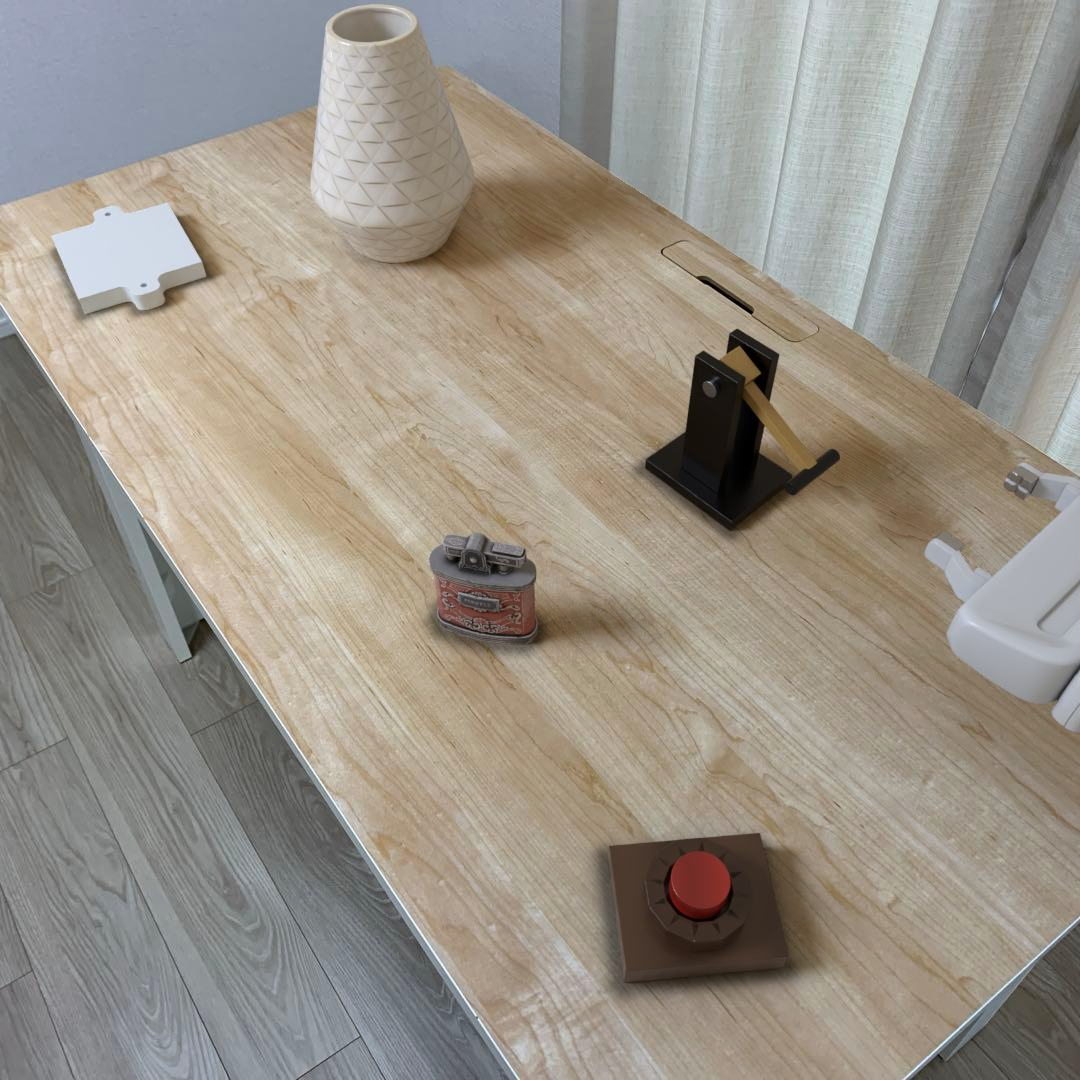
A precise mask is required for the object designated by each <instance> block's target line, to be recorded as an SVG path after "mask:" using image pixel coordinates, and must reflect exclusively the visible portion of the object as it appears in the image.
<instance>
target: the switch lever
mask: <svg viewBox="0 0 1080 1080" xmlns="http://www.w3.org/2000/svg"><path fill="white" fill-rule="evenodd" d="M718 360H719V361H721V362H723V363H724V364H726V365H727V366H729V367H730V368H732V369H734V370H735V371H737V372H738V373H740V374H741V375H743V376H744V377H746V380H745V385H744V391H743V396H742V397H743V399H744V400H745V401H746V403H747V404H748V405H749V406H750V408H751V409H752V410H753V411H754V413H755V414H756V415H757V417H758V418H759V419H760V420H761V422H762V423H763V424H764V425H765V427H764V428H766V429H767V430H768V432H769V434H770V435H771V436H772V437H773V439H775V441H776V442H777V444H778V445H779V446H780V447H781V448H782V450H783V452H784V453H785V454H786V455H787V456H788V458H789V459H790V460H791V462H793V464H794V465H795V467H796V468H797V469H798V470H799V471H798V473H797V474H795V475H793V476H792V478H791V479H790V480H789V481H787V482H786V483H785V485H784V488H785V489H784V491H785V492H786V494H788V495H790V496H793V497H794V496H797V494H799V493H800V492H801V491H802V490H804V489H805V488H807V487H808V486H809V485H811V483H813V482H814V481H815V480H817V479H818V478H819V477H820V476H822V475H823V474H825V473H826V472H828V470H830V469H831V468H833V466H834V465H836V464H837V463H838V462H840V460H841V454H840V452H839V451H838V450H837V449H835V448H829V449H828V450H826V451H825V452H824V453H822V454H821V455H820V456H819V457H817V458H816V459H815V458H814V457H813V455H812V454H811V452H810V451H809V450H808V449H807V448H806V446H805V445H804V444H803V443H802V442H801V440H800V438H799V437H797V435H796V434H795V433H794V431H793V430H792V429H791V427H790V426H789V425H788V423H787V422H786V421H785V420H784V419H783V417H782V416H781V414H780V413H779V412H778V411H777V409H776V408H775V407H774V406H773V405H772V403H771V401H770V402H769V401H768V399H767V398H766V397H765V396H764V394H763V393H762V392H761V391H760V389H759V388H758V387H757V385H756V384H755V383H754V382H753V381H754V380H755V379H756V378H757V377H758V376H759V375H760V374H761V372H760V371H759V370H758V368H757V367H756V366H755V365H754V363H753V362H752V361H751V359H750V358H749V357H748V356H747V354H746V353H745V352H744V351H743V349H742V348H741V347H740V346H738V347H737V348H735V349H734V350H732V351H731V352H729V353H728V354H726V353H725V355H723V356H722V357H720V359H718Z"/></svg>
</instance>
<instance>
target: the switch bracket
mask: <svg viewBox="0 0 1080 1080" xmlns="http://www.w3.org/2000/svg"><path fill="white" fill-rule="evenodd" d="M738 346H740V347H741V348H742V349H743V351H744V352H745V353H746V354H747V356H748V357H749V358H750V359H751V361H752V362H753V363H754V365H755V366H756V367H757V368H758V370H759V371H760V372H761V374H760V375H759V376H758V377H757V378H756V379H755V380H754V381H753V382H754V383H755V384H756V385H757V387H758V388H759V389H760V391H761V392H762V393H763V394H764V396H765V397H766V398H767V399H768V401H769V402H770V403H771V397H772V393H773V387H774V384H775V378H776V373H777V369H778V364H779V358H780V353H779V352H777V351H775V350H774V349H772V348H770V347H768V346H767V345H766V344H764V343H762V342H761V341H759V340H757V338H754V337H752V336H751V335H749V334H748V333H746V332H744V331H742V330H741V329H739V328H735V329H734V330H732V331H730V332H729V333H728V340H727V345H726V351H725V355H726V354H728V353H729V352H731V351H732V350H734V349H735V348H737V347H738ZM719 360H720V359H718V358H716V357H715V356H714V355H712V354H710V353H709V352H707V351H705V350H702V351H700V352H699V353H697V354H696V355H695V356H694V361H693V370H692V378H691V379H692V380H691V385H690V393H689V400H688V409H687V416H686V423H685V431H684V432H683V433H681V434H680V435H679V436H676V437H675V438H674V439H673V440H671V441H669V442H668V443H666V444H665V445H664V446H662V447H661V448H660V449H658V450H657V451H655V452H653V453H652V454H651V455H650V456H648V457H647V458H646V459H645V464H644V469H645V470H647V472H649V473H650V474H652V475H654V476H655V477H656V478H657V479H659V480H660V481H661V482H662V483H664V484H666V485H667V486H668V487H669V488H671V489H673V490H674V491H675V492H676V493H678V494H679V495H681V497H683V498H684V499H685V500H687V501H688V502H690V503H691V504H693V506H695V507H696V508H698V509H699V510H701V511H702V512H703V513H704V514H706V515H707V516H708V517H710V518H711V519H713V520H714V521H716V522H717V524H719V525H720V526H722V527H724V528H725V529H726V530H728V531H729V532H730V531H732V530H733V529H734V528H735V527H737V526H738V525H740V524H741V523H742V522H743V521H745V520H746V519H747V518H749V517H750V516H751V515H752V514H754V513H755V512H756V511H757V510H759V509H760V508H761V507H762V506H764V505H765V504H767V503H768V502H769V501H771V500H772V499H773V498H774V497H776V496H777V495H778V494H780V493H781V492H782V491H784V490H785V488H784V485H785V483H786V482H787V481H789V480H790V479H791V478H793V474H792V473H791V472H789V471H787V470H786V469H785V468H783V467H782V466H780V465H779V464H777V463H776V462H774V461H773V460H771V459H770V458H768V457H767V456H766V455H764V454H763V453H761V452H760V451H761V446H762V442H763V441H762V440H763V436H764V431H765V428H766V427H765V425H764V424H763V423H762V422H761V420H760V419H759V418H758V417H757V415H756V414H755V413H754V411H753V410H752V409H751V408H750V406H749V405H748V404H747V403H746V401H745V400H744V399H743V397H742V396H743V391H744V385H745V380H746V377H744V376H743V375H741V374H740V373H738V372H737V371H735V370H734V369H732V368H730V367H729V366H727V365H726V364H724V363H723V362H721V361H719Z"/></svg>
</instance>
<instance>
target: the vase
mask: <svg viewBox="0 0 1080 1080" xmlns="http://www.w3.org/2000/svg"><path fill="white" fill-rule="evenodd" d="M324 29H325V30H324V39H323V50H322V61H321V70H320V80H319V92H318V99H317V100H318V102H317V103H318V104H317V111H316V121H315V131H314V132H315V133H314V141H313V152H312V163H311V172H310V183H309V186H310V187H309V188H310V194H311V197H312V200H313V202H314V203H315V206H316V207H317V209H318V210H319V211H320V212H321V213H322V214H323V215H324V216H325V218H327V220H328V221H329V222H330V223H331V224H332V225H333V226H334V227H335V228H336V229H337V230H338V232H339V233H340V234H341V235H342V236H343V237H344V238H345V239H346V241H347V242H348V243H349V244H350V245H351V246H352V247H353V248H354V249H355V251H357V252H358V253H359V254H360V255H362V256H363V257H365V258H368V259H370V260H373V261H376V262H381V263H388V264H403V263H410V262H415V261H418V260H422V259H425V258H427V257H429V256H430V255H433V254H434V253H436V252H438V251H439V250H440V249H441V248H442V247H443V246H444V245H445V243H446V242H447V241H448V239H449V237H450V235H451V234H452V231H453V229H454V228H455V226H456V224H457V222H458V220H459V218H460V216H461V214H462V213H463V210H464V208H465V207H466V204H467V202H468V200H469V199H470V197H471V195H472V193H473V190H474V186H475V181H476V180H475V179H476V178H475V169H474V166H473V163H472V160H471V157H470V154H469V153H468V149H467V147H466V145H465V142H464V139H463V137H462V134H461V131H460V128H459V126H458V124H457V123H458V122H457V121H456V118H455V115H454V113H453V110H452V107H451V104H450V102H449V99H448V97H447V94H446V91H445V89H444V86H443V84H442V83H443V82H442V81H441V78H440V75H439V72H438V69H437V67H436V65H435V61H434V59H433V56H432V54H431V52H430V49H429V46H428V44H427V40H426V38H425V35H424V33H423V30H422V28H421V25H420V22H419V19H418V17H417V16H416V15H415V13H414V12H412V11H410V10H408V9H407V8H405V7H402V6H399V5H392V4H385V3H370V4H369V3H368V4H362V5H356V6H352V7H349V8H346V9H344V10H340V11H339V12H337V13H335V14H334V15H333V16H332V17H330V19H329V20H328V21H327V22H326V24H325V28H324Z"/></svg>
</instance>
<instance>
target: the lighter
mask: <svg viewBox="0 0 1080 1080" xmlns="http://www.w3.org/2000/svg"><path fill="white" fill-rule="evenodd" d="M428 562H429V568H430V571H431V573H432V574H433V580H434V585H435V592H436V598H437V606H438V607H437V611H436V614H437V620H438V624H439V625H440V627H441V628H442V629H444V630H446V631H449V632H450V633H451V632H452V633H453V634H456V635H459V636H462V637H466V638H468V639H474V640H477V641H481V642H486V643H487V642H488V643H493V644H494V643H495V644H503V645H527V644H529V643H531V642H532V641H533V640H534V639H535V638H536V636H537V635H538V632H539V631H538V630H539V623H538V619H537V616H536V595H535V593H536V590H535V583H536V582H537V566H536V564H535V563H534V561H533V560H531V559H529V558H527V548H526V547H524V546H523V545H522V546H521V545H516V544H510V543H506V542H499V541H494V540H491V539H489V538H488V537H487V536H486V535H485V534H484V533H481V532H472V533H470V535H467V536H466V535H460V534H455V533H446V534H444V537H443V539H442V544H439V545H438V546H436V547H435V548H433V550H431V553H430V554H429V558H428Z"/></svg>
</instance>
